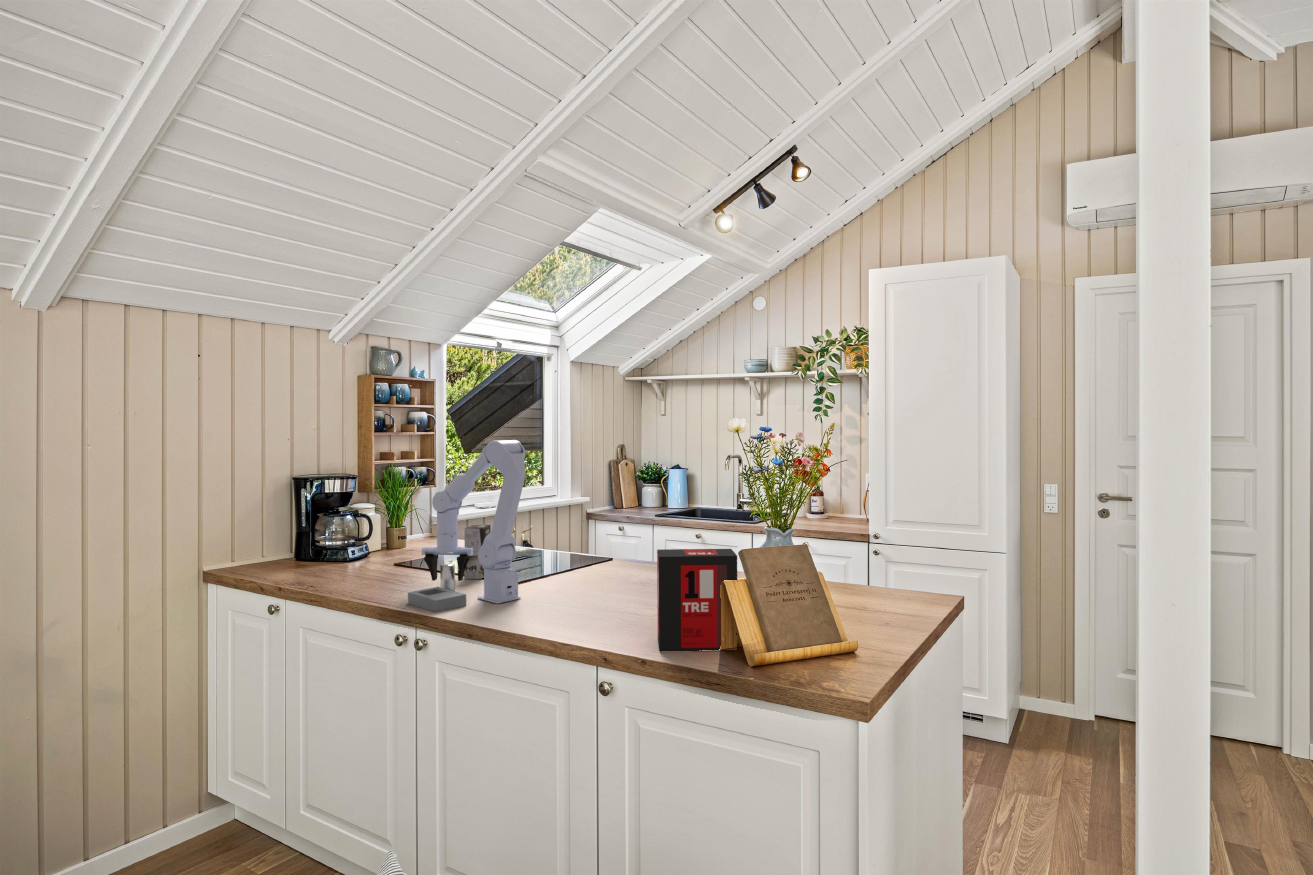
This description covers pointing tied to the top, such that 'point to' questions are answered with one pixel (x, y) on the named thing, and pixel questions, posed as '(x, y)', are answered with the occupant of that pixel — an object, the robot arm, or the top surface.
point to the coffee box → (475, 549)
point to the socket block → (436, 599)
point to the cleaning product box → (691, 597)
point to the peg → (447, 576)
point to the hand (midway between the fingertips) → (447, 580)
